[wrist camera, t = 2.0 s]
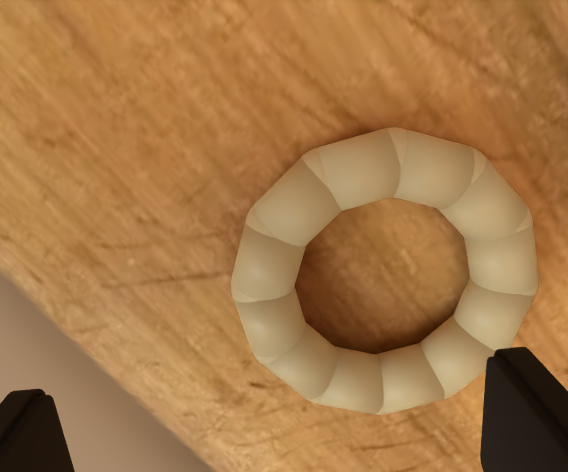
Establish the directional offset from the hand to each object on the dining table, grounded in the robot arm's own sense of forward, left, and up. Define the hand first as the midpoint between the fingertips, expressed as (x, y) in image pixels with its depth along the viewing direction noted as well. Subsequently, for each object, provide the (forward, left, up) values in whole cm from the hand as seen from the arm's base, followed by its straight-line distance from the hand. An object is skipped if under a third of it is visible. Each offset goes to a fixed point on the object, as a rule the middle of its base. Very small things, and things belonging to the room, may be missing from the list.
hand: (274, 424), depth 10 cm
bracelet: (+2, +3, -6) cm, 7 cm away
